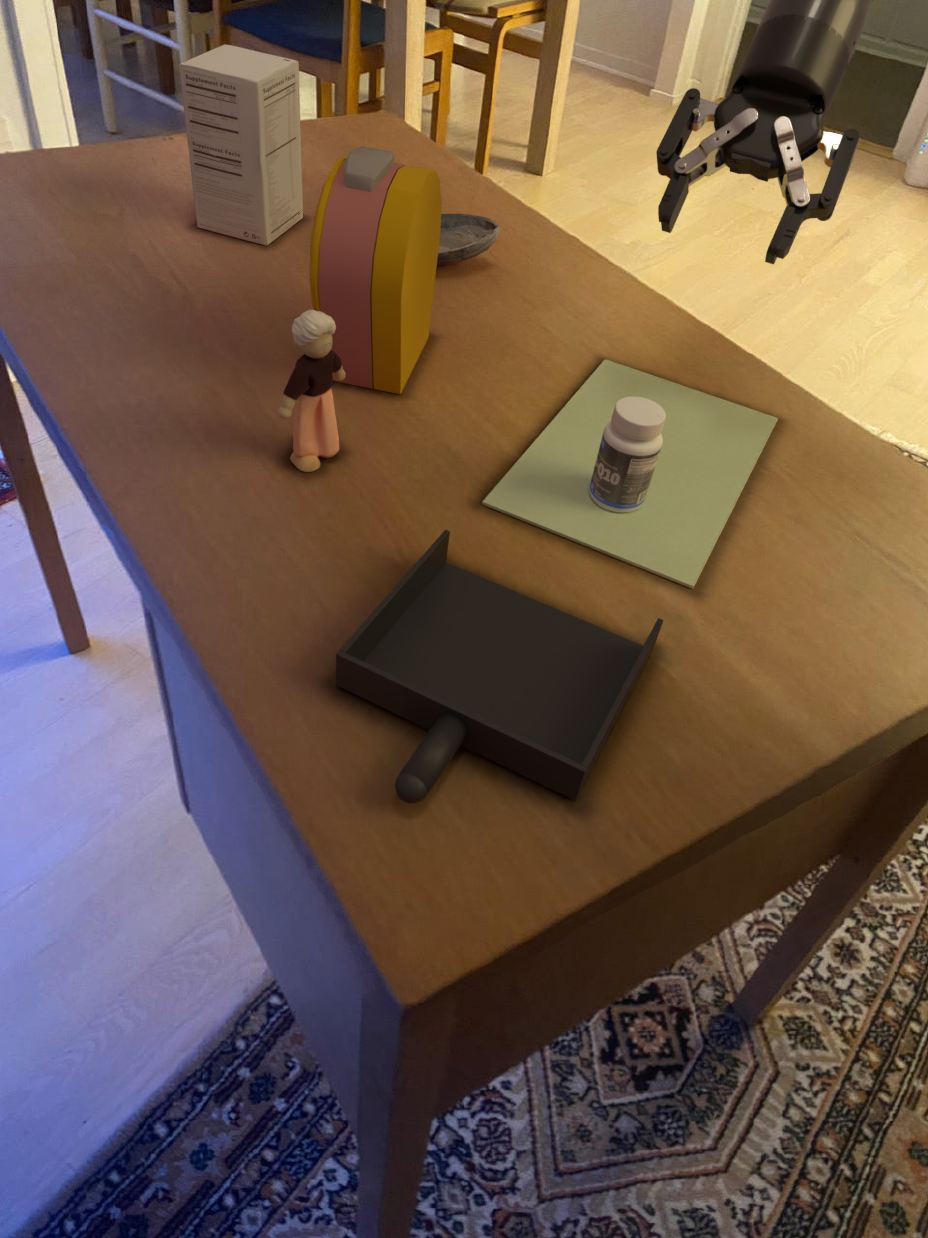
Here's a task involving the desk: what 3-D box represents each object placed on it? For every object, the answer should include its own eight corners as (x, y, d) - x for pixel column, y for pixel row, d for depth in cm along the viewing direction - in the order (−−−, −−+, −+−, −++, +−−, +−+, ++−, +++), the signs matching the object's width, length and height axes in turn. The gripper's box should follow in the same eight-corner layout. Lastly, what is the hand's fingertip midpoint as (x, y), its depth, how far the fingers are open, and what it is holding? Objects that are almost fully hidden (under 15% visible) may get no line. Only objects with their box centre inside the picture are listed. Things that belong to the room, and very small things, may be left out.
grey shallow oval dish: (455, 229, 110) (459, 186, 107) (503, 273, 103) (509, 230, 99) (338, 241, 104) (338, 197, 101) (380, 289, 97) (381, 243, 93)
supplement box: (236, 200, 110) (224, 41, 98) (305, 218, 108) (301, 58, 96) (194, 228, 103) (175, 61, 91) (266, 247, 101) (257, 79, 89)
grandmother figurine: (317, 484, 72) (314, 340, 63) (274, 471, 73) (266, 326, 64) (357, 436, 78) (360, 296, 69) (317, 424, 78) (315, 284, 69)
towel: (604, 361, 91) (605, 358, 91) (777, 420, 86) (778, 417, 86) (481, 504, 73) (482, 501, 72) (692, 589, 68) (693, 586, 68)
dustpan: (441, 562, 67) (445, 529, 65) (651, 652, 63) (664, 619, 61) (280, 753, 54) (278, 719, 52) (533, 883, 50) (543, 853, 47)
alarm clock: (355, 313, 93) (357, 119, 80) (432, 328, 92) (448, 135, 79) (308, 386, 82) (303, 176, 69) (395, 404, 82) (406, 195, 69)
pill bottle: (578, 484, 75) (598, 397, 69) (626, 475, 77) (650, 389, 71) (606, 519, 72) (630, 431, 66) (655, 508, 74) (682, 422, 68)
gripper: (715, -9, 67) (628, 193, 68) (906, 33, 64) (812, 246, 64) (713, 58, 75) (635, 240, 75) (885, 99, 71) (801, 290, 72)
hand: (717, 242), depth 70 cm, fingers open, 8 cm apart
